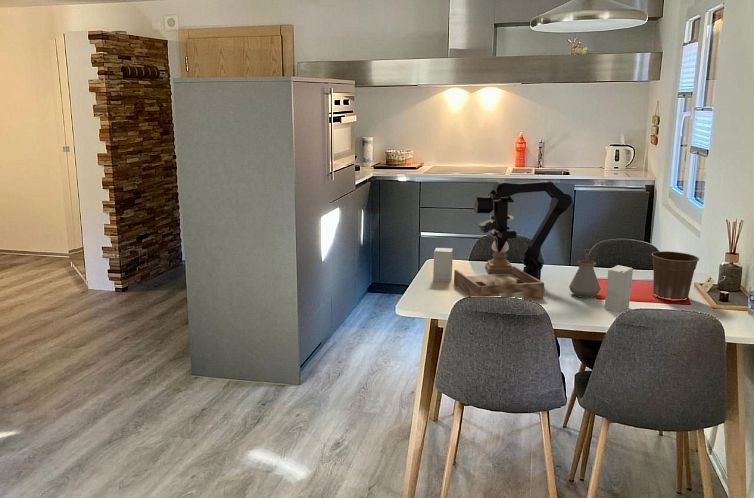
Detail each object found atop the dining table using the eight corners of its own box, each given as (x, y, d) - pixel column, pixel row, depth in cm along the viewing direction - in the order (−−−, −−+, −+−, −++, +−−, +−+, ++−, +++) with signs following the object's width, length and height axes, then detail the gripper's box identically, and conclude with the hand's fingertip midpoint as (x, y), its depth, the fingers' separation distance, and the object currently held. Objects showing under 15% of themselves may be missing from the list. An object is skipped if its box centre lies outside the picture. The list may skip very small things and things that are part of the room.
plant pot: (691, 293, 258) (695, 252, 254) (697, 305, 242) (702, 262, 239) (645, 289, 262) (649, 249, 259) (649, 301, 247) (654, 258, 243)
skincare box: (613, 304, 243) (617, 264, 240) (630, 307, 239) (633, 267, 236) (603, 309, 237) (607, 268, 234) (620, 312, 233) (623, 271, 230)
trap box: (513, 280, 274) (514, 266, 273) (543, 298, 250) (544, 282, 248) (453, 284, 269) (454, 269, 267) (478, 302, 244) (478, 286, 243)
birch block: (509, 286, 254) (509, 276, 253) (516, 290, 249) (516, 280, 248) (494, 287, 253) (495, 277, 252) (501, 291, 247) (501, 281, 246)
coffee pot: (600, 300, 247) (603, 261, 244) (567, 297, 251) (570, 258, 248) (600, 285, 267) (603, 249, 264) (570, 283, 271) (572, 247, 268)
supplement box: (450, 282, 271) (451, 251, 269) (432, 281, 273) (433, 251, 270) (452, 277, 278) (453, 248, 276) (434, 276, 280) (435, 247, 277)
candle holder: (513, 273, 285) (516, 218, 280) (488, 273, 286) (490, 218, 280) (509, 267, 296) (512, 214, 291) (484, 267, 296) (487, 214, 291)
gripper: (472, 210, 271) (471, 247, 275) (491, 218, 254) (489, 258, 257) (498, 209, 274) (496, 246, 277) (518, 216, 256) (516, 256, 260)
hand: (498, 251), depth 268 cm, fingers closed
